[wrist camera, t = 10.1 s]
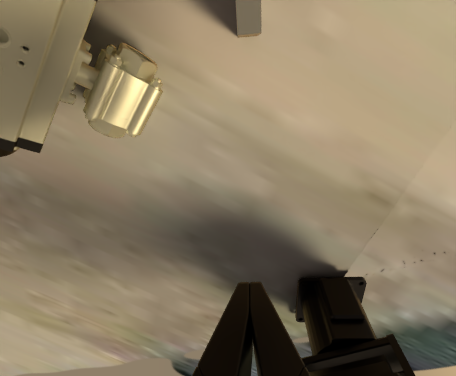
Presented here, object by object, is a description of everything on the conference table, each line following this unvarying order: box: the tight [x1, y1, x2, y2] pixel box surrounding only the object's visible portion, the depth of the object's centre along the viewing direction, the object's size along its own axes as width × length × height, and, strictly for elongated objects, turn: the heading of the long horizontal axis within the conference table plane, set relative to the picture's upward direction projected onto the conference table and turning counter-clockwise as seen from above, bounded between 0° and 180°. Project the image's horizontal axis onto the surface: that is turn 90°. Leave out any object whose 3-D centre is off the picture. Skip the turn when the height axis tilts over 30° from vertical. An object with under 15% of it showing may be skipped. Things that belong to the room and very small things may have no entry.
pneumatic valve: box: [0, 0, 163, 157], centre depth 13 cm, size 6×12×12 cm
